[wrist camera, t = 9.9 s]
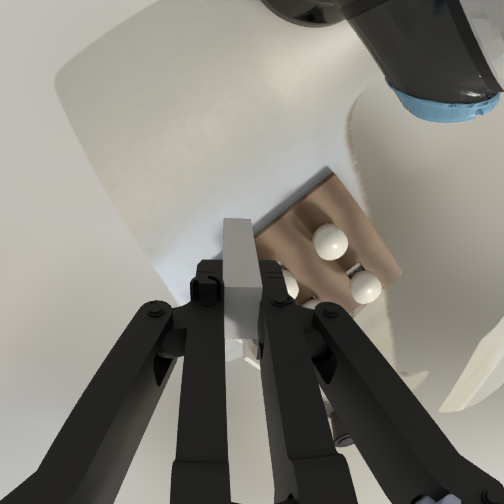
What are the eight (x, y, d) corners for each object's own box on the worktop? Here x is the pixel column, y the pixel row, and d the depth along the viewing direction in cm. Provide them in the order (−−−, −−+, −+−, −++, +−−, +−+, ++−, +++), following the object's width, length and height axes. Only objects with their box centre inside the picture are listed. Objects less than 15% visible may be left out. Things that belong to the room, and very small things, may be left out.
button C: (280, 256, 51) (285, 272, 47) (299, 276, 53) (305, 292, 49) (256, 275, 52) (258, 291, 48) (275, 293, 54) (279, 310, 50)
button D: (313, 287, 56) (320, 302, 52) (328, 303, 58) (335, 318, 54) (291, 303, 58) (296, 319, 54) (307, 318, 60) (312, 334, 56)
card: (245, 320, 59) (248, 355, 52) (284, 351, 64) (291, 385, 56) (229, 332, 61) (230, 367, 53) (268, 361, 65) (273, 394, 58)
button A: (328, 212, 50) (336, 223, 46) (344, 233, 52) (353, 246, 48) (303, 232, 51) (309, 244, 47) (321, 252, 53) (328, 266, 49)
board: (333, 172, 47) (335, 174, 46) (400, 269, 57) (403, 272, 56) (216, 266, 53) (216, 270, 52) (301, 340, 63) (302, 344, 62)
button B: (363, 258, 52) (373, 272, 48) (376, 276, 54) (386, 290, 50) (339, 276, 53) (347, 291, 49) (354, 293, 55) (362, 308, 52)
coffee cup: (328, 424, 82) (336, 452, 73) (322, 412, 78) (330, 442, 69) (355, 414, 81) (364, 442, 72) (351, 401, 77) (361, 431, 68)
